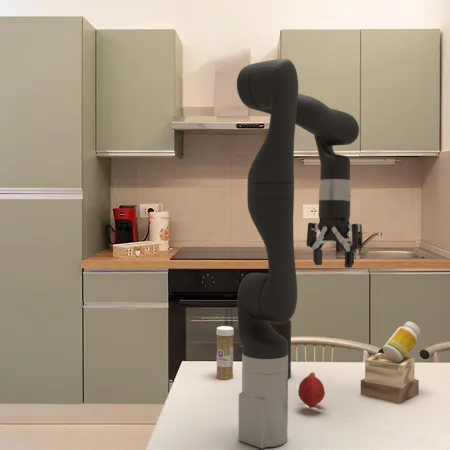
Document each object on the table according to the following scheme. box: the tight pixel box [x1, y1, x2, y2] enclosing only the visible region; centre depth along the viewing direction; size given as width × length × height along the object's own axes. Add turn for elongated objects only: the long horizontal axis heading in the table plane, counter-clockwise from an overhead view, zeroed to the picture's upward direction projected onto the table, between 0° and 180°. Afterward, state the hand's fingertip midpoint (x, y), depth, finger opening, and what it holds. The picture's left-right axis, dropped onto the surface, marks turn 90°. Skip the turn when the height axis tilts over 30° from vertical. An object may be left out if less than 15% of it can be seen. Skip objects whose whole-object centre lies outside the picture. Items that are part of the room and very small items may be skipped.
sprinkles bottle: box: [215, 325, 235, 381], centre depth 155 cm, size 5×5×13 cm
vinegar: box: [269, 319, 292, 380], centre depth 155 cm, size 7×7×20 cm
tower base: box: [360, 378, 420, 405], centre depth 141 cm, size 10×10×4 cm
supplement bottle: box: [382, 321, 421, 362], centre depth 143 cm, size 5×5×10 cm
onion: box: [298, 371, 326, 409], centre depth 132 cm, size 6×6×8 cm
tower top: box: [364, 352, 416, 388], centre depth 141 cm, size 9×9×5 cm
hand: (333, 266), depth 141 cm, fingers open, 8 cm apart
